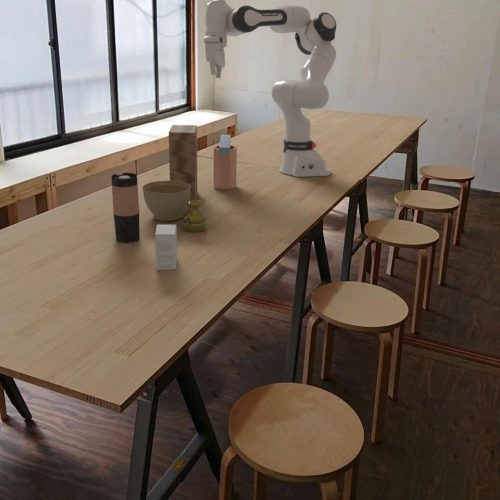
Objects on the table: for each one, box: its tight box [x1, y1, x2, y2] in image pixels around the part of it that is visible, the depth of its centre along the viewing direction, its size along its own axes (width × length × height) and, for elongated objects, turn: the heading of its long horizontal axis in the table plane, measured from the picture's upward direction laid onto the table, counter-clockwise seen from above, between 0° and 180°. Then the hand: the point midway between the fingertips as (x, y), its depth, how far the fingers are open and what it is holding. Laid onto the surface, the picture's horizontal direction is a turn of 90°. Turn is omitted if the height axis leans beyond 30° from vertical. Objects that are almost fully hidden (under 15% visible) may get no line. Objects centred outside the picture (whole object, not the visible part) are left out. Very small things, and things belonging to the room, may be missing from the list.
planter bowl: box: [141, 180, 191, 222], centre depth 199 cm, size 16×16×11 cm
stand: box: [168, 124, 198, 200], centre depth 217 cm, size 9×14×26 cm, turn 1°
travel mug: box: [111, 172, 141, 244], centre depth 178 cm, size 8×8×20 cm
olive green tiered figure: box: [182, 198, 207, 233], centre depth 190 cm, size 7×7×10 cm
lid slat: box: [218, 134, 232, 154], centre depth 231 cm, size 24×4×2 cm, turn 1°
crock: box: [213, 144, 238, 191], centre depth 234 cm, size 9×9×16 cm
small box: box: [154, 224, 178, 271], centre depth 163 cm, size 8×6×10 cm
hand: (215, 76), depth 243 cm, fingers open, 8 cm apart
